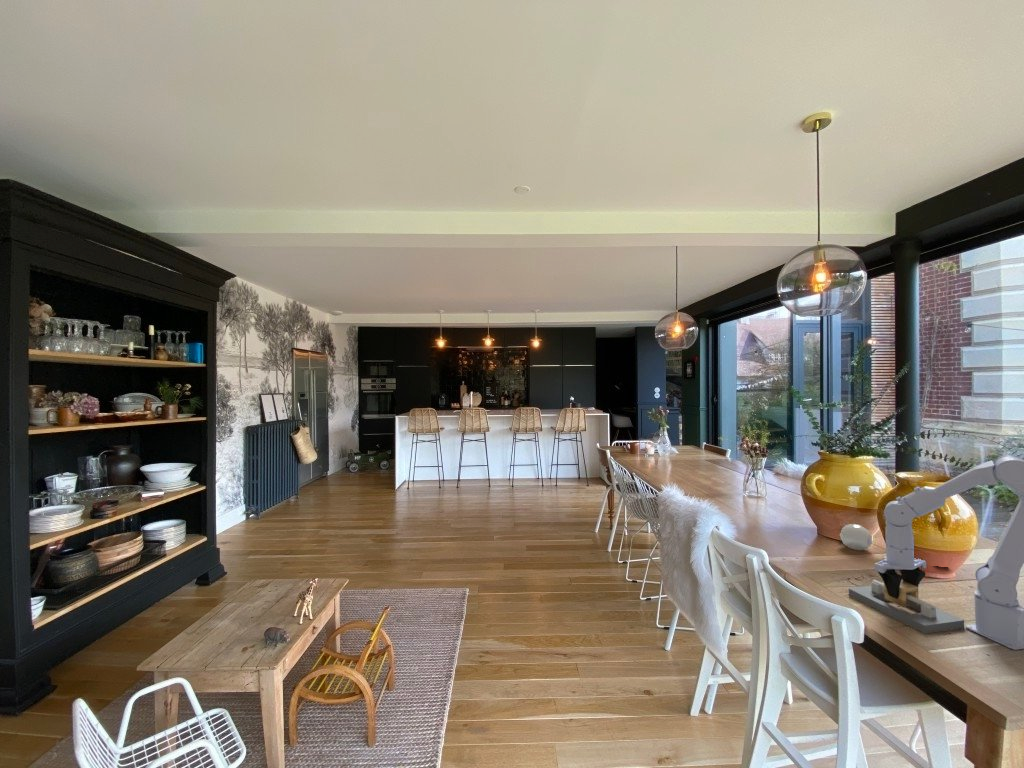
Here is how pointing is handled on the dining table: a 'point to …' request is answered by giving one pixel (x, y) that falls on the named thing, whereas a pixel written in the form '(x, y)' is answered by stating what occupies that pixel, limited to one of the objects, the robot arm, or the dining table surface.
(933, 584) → the dining table surface
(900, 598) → the ochre u-shaped block
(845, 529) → the white egg shape
